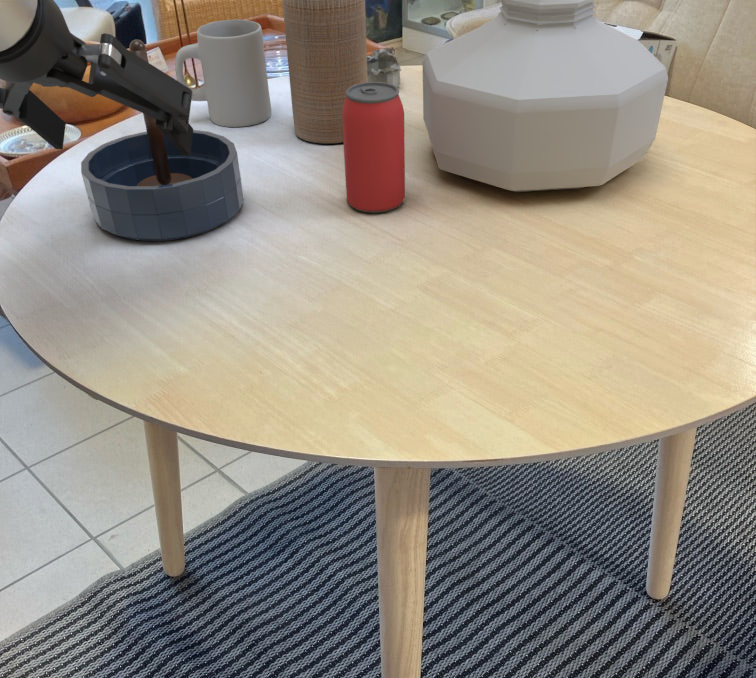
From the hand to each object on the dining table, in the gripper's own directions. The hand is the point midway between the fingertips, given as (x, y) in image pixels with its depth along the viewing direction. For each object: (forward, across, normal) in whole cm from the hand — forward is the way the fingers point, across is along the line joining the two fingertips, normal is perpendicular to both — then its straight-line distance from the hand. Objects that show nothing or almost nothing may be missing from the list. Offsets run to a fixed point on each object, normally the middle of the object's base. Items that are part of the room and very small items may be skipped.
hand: (123, 139), depth 85 cm
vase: (+30, +13, +16) cm, 36 cm away
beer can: (+16, +23, +1) cm, 28 cm away
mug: (+33, -3, +18) cm, 37 cm away
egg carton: (+43, +13, +28) cm, 53 cm away
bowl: (+12, 0, -3) cm, 12 cm away
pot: (+26, +40, +11) cm, 49 cm away
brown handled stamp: (+11, 0, -2) cm, 12 cm away
